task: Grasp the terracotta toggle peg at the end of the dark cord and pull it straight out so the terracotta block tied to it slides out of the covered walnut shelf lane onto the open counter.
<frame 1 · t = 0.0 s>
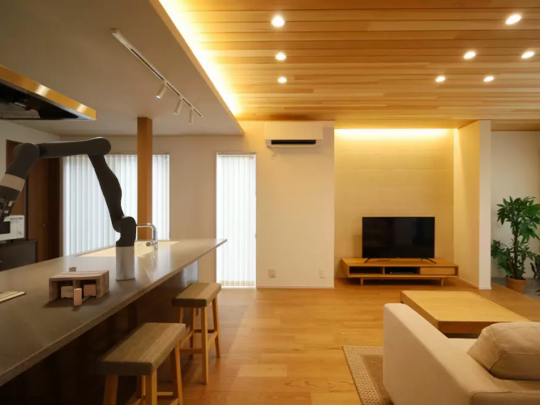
walnut shelf: (80, 295, 142), on the countertop
tethered block: (85, 291, 136), point 3 cm above the countertop, slide at 0.0 cm
flask: (72, 288, 155), on the countertop
maple block: (69, 296, 142), resting in walnut shelf
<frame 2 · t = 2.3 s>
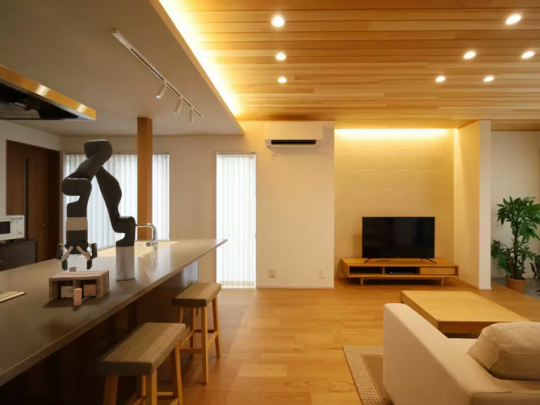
hand: (77, 269, 128), 14 cm above the countertop, tool pointing down, fingers open, 8 cm apart
nothing on the countertop moved.
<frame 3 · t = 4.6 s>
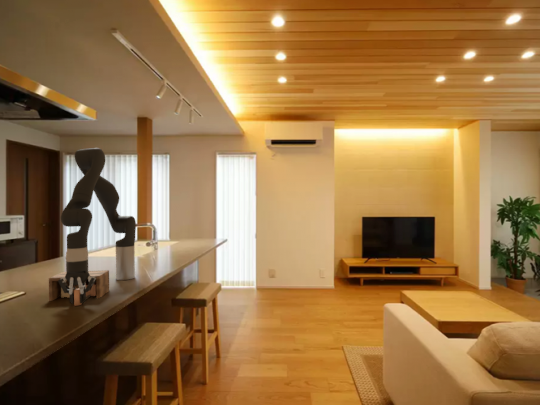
hand: (77, 302, 129), 1 cm above the countertop, tool pointing down, fingers closed on tethered block, 2 cm apart
tethered block: (85, 291, 136), point 3 cm above the countertop, slide at 0.0 cm, touching gripper
everything else where it was.
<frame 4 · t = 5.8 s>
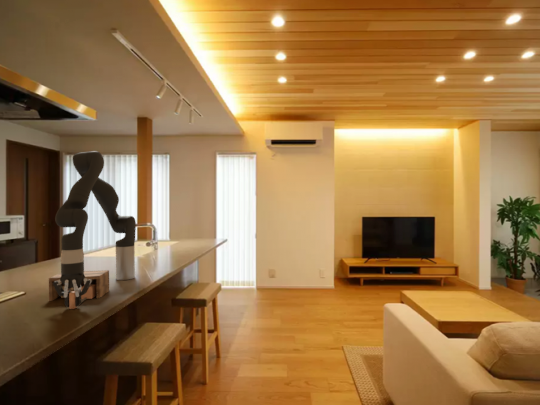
hand: (73, 306, 124), 1 cm above the countertop, tool pointing down, fingers closed on tethered block, 2 cm apart
tethered block: (81, 294, 132), point 3 cm above the countertop, slide at 4.2 cm, touching gripper
everything else where it was.
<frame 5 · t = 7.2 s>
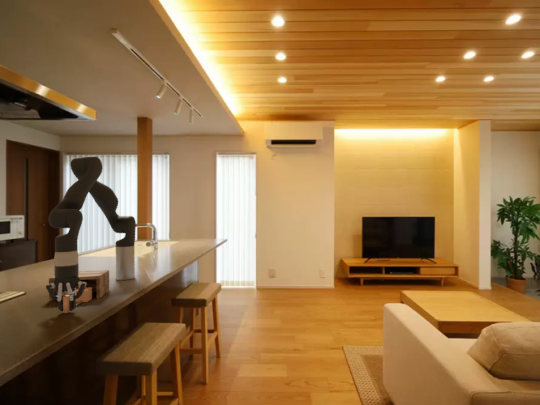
hand: (67, 310, 120), 1 cm above the countertop, tool pointing down, fingers closed on tethered block, 2 cm apart
tethered block: (76, 297, 127), point 3 cm above the countertop, slide at 9.0 cm, touching gripper
everything else where it was.
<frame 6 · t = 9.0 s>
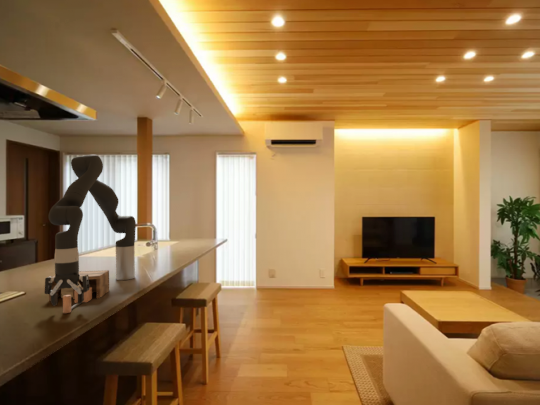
hand: (67, 304, 120), 3 cm above the countertop, tool pointing down, fingers open, 8 cm apart
tethered block: (76, 297, 127), point 3 cm above the countertop, slide at 9.0 cm
everything else where it was.
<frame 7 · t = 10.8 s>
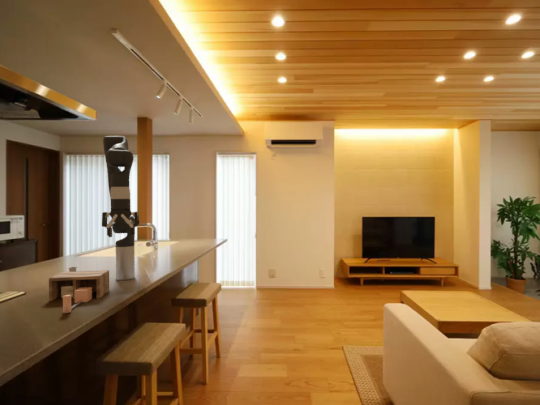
hand: (121, 236, 136), 26 cm above the countertop, tool pointing down, fingers open, 8 cm apart
nothing on the countertop moved.
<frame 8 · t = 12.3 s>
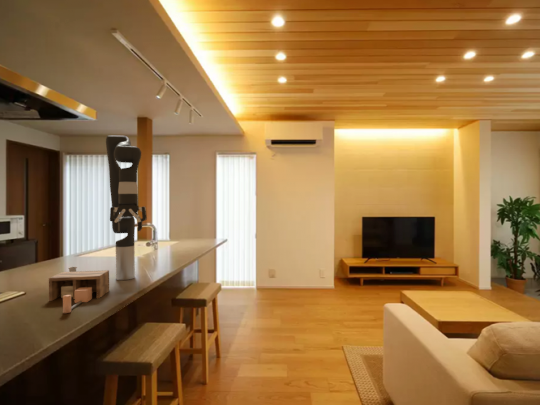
hand: (128, 231, 138), 28 cm above the countertop, tool pointing down, fingers open, 8 cm apart
nothing on the countertop moved.
at the end: tethered block slide at 9.0 cm; the gripper is holding nothing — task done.
